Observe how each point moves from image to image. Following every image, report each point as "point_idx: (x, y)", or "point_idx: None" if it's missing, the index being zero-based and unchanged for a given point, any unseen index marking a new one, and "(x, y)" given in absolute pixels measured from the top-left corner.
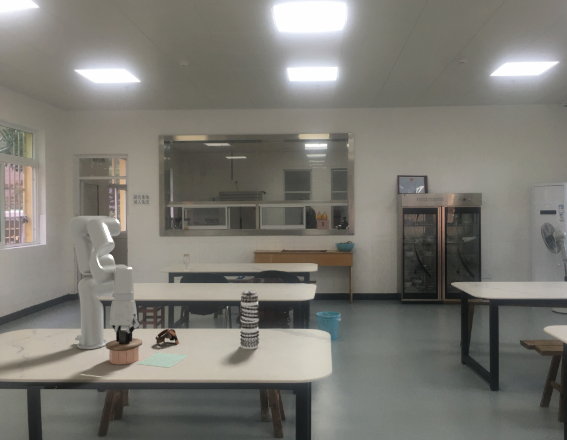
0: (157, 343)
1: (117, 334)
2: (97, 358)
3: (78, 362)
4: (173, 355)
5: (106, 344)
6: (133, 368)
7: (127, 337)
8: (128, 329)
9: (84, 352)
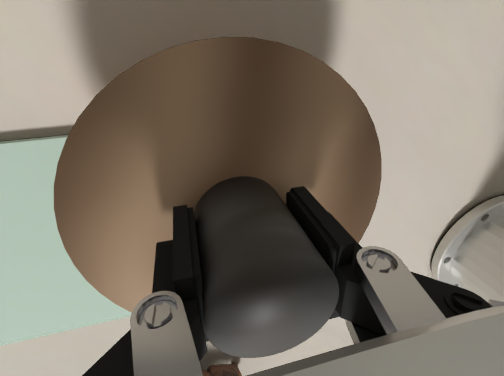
0: (216, 365)
1: (326, 232)
2: (387, 134)
3: (455, 39)
4: (7, 325)
5: (367, 122)
6: (35, 69)
7: (173, 245)
8: (147, 351)
9: (481, 173)
